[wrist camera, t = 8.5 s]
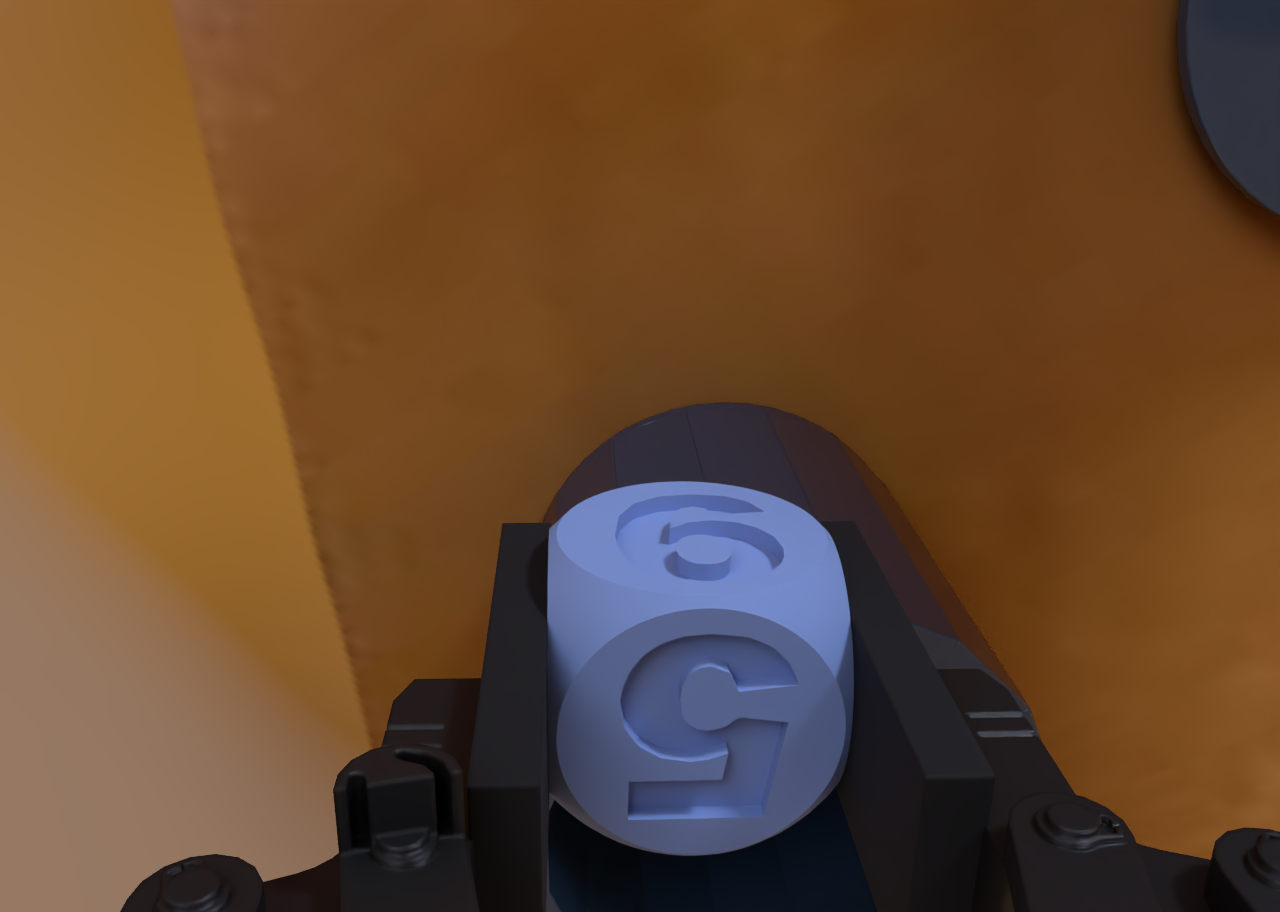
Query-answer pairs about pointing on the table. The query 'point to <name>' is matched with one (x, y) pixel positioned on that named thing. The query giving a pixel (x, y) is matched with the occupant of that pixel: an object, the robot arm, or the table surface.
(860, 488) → the dark blue cylinder
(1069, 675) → the table surface
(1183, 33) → the lid
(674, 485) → the decorative dice
